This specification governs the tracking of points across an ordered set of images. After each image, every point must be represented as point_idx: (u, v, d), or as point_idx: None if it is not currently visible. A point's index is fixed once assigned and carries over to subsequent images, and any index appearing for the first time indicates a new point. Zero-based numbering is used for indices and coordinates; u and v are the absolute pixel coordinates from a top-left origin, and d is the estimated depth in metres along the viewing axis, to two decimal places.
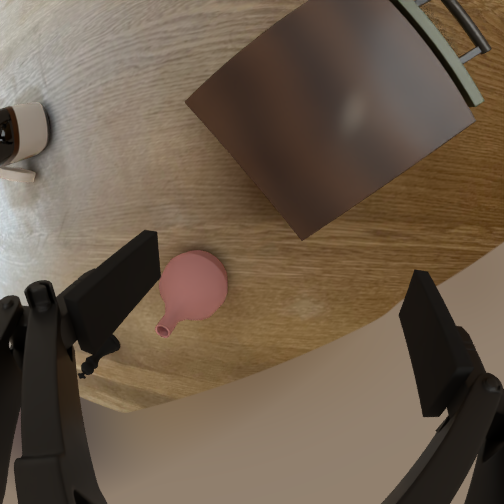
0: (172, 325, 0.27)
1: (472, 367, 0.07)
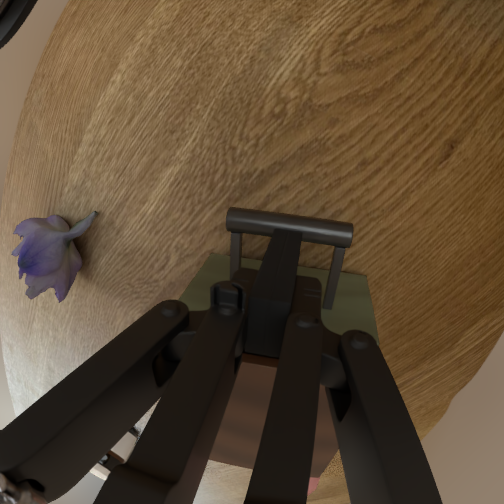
0: None
1: (288, 303, 0.10)
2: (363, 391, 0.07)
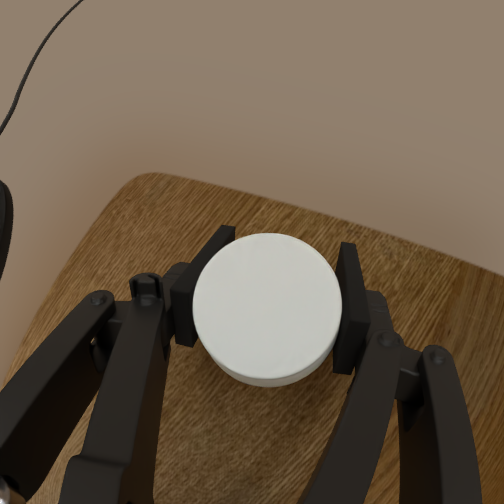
0: None
1: (369, 321, 0.10)
2: (436, 403, 0.07)
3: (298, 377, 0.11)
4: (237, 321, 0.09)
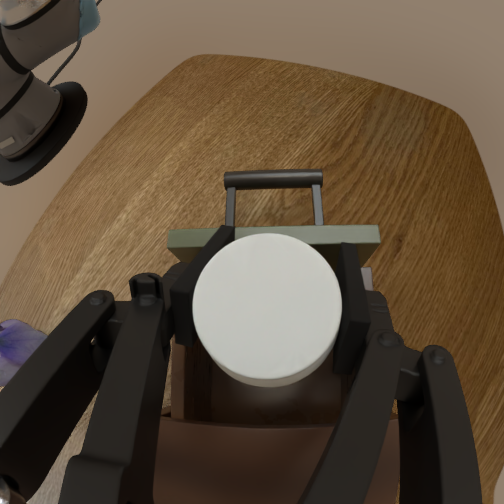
0: None
1: (369, 321, 0.10)
2: (436, 403, 0.07)
3: (298, 377, 0.11)
4: (237, 322, 0.09)
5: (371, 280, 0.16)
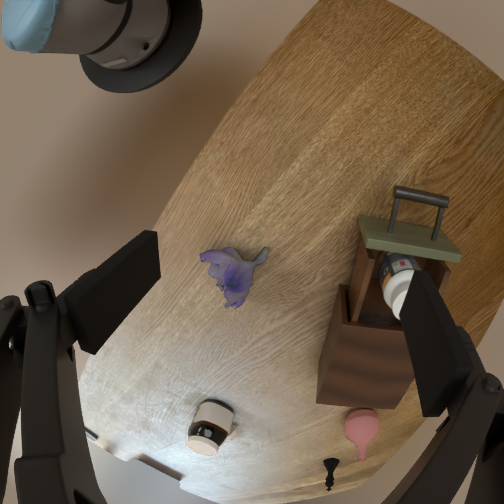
0: (364, 454, 0.46)
1: (472, 367, 0.07)
2: None
3: None
4: None
5: (448, 277, 0.31)
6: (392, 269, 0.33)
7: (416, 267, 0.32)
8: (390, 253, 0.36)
